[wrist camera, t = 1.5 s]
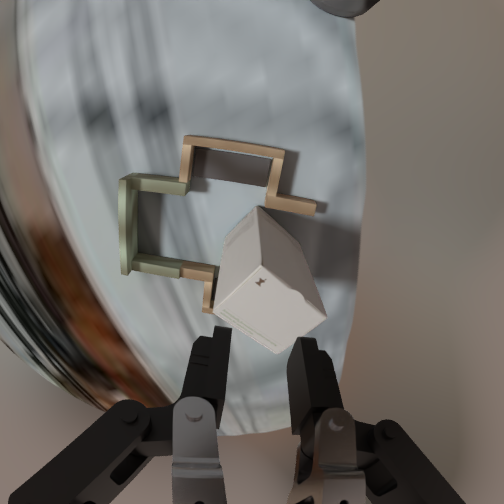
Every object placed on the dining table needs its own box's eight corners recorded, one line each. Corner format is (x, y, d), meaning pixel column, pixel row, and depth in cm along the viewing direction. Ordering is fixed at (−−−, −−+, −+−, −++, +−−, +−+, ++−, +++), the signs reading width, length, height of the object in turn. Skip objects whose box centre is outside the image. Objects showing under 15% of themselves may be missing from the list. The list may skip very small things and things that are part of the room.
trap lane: (135, 131, 30) (121, 133, 27) (323, 158, 32) (331, 162, 28) (133, 290, 41) (124, 305, 37) (281, 315, 42) (283, 332, 39)
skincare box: (224, 236, 36) (205, 311, 23) (259, 200, 34) (261, 260, 20) (269, 274, 39) (275, 358, 25) (304, 243, 37) (330, 320, 23)
